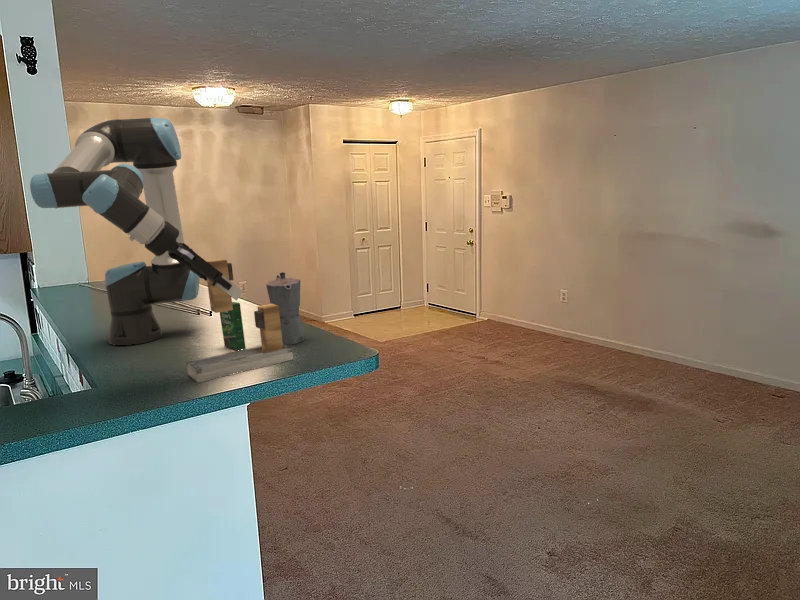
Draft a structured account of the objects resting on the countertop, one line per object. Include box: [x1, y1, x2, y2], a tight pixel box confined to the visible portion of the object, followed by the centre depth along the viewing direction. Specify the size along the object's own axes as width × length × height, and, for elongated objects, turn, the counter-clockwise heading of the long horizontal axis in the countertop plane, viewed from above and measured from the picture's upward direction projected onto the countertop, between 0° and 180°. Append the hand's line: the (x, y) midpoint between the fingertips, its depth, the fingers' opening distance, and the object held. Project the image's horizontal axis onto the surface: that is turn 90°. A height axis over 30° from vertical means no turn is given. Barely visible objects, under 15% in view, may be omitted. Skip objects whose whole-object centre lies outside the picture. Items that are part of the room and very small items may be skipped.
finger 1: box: [205, 258, 235, 314], centre depth 138 cm, size 4×5×12 cm
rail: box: [185, 344, 294, 383], centre depth 144 cm, size 8×24×3 cm, turn 125°
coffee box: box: [219, 301, 247, 351], centre depth 161 cm, size 8×3×13 cm, turn 43°
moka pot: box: [266, 272, 306, 346], centre depth 164 cm, size 10×15×20 cm, turn 27°
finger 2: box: [253, 303, 283, 352], centre depth 147 cm, size 4×5×12 cm
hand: (235, 294), depth 141 cm, fingers closed on finger 1, 4 cm apart
